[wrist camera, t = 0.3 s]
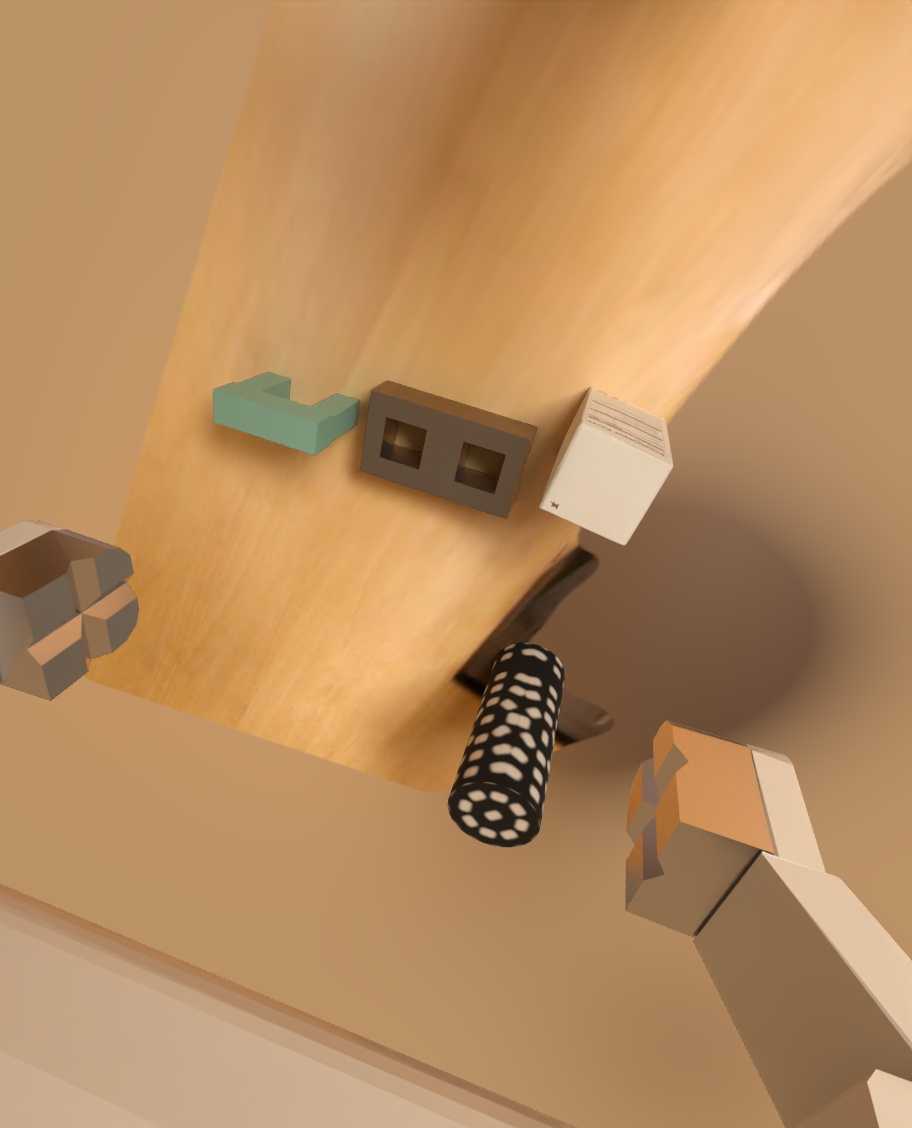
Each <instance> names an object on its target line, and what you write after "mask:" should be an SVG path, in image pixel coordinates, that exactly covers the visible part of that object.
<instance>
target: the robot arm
mask: <svg viewBox="0 0 912 1128" xmlns="http://www.w3.org/2000/svg"><path fill="white" fill-rule="evenodd" d="M133 574H134V572H133V567H132V562H131V557H130V554H128V553H127V552H125V551H124V550H122V549H121V548H119V547H116V546H113V545H110V544H107V543H104V542H101V541H98V540H95V539H93V538H90V537H87V536H84V535H81V534H78V533H75V532H72V531H69V530H66V529H65V530H64V529H61V528H59V527H56V526H53V525H50V524H47V523H44V522H41V521H23V522H20V523H18V524H16V525H13V526H11V527H9V528H7V529H5V530H3V531H0V684H1V685H4V686H7V687H10V688H13V689H16V690H19V691H22V692H25V693H28V694H32V695H34V696H37V697H40V698H44V699H47V700H50V701H51V700H52V699H54V698H55V697H56V696H58V695H59V694H60V693H61V692H63V691H64V690H65V689H67V688H68V687H69V686H70V685H72V684H73V683H74V682H76V681H77V680H78V679H79V678H81V677H82V676H83V675H85V674H86V673H87V672H88V671H89V667H90V662H91V659H93V658H97V657H100V656H103V655H107V654H110V653H112V652H114V651H115V650H116V649H117V648H118V647H120V646H121V645H122V644H123V643H124V642H126V641H127V639H128V637H129V636H130V634H131V632H132V631H133V629H134V627H135V626H136V624H137V618H138V613H139V607H138V599H137V596H136V595H135V593H134V592H133V590H132V589H131V587H130V586H129V585H128V583H127V581H128V580H129V579H130V577H131V576H132V575H133ZM653 741H654V757H653V758H651V759H649V760H647V761H645V762H642V764H641V766H640V768H639V770H638V773H637V775H636V777H635V779H634V782H633V786H632V789H631V793H630V796H629V803H628V810H627V829H626V831H627V832H628V834H629V836H630V837H631V839H632V841H633V842H634V844H635V845H634V848H633V849H632V851H631V853H630V855H629V857H628V858H627V860H626V909H625V910H626V911H628V912H631V913H633V914H636V915H638V916H640V917H643V918H645V919H648V920H651V921H653V922H656V923H658V924H661V925H663V926H666V927H668V928H671V929H673V930H676V931H678V932H681V933H684V934H686V935H688V936H691V937H694V938H695V939H694V941H693V942H694V944H695V946H696V948H697V950H698V952H699V954H700V956H701V958H702V960H703V962H704V964H705V966H706V968H707V970H708V972H709V974H710V976H711V978H712V980H713V982H714V984H715V986H716V988H717V990H718V992H719V994H720V996H721V998H722V1000H723V1002H724V1005H725V1006H726V1009H727V1011H728V1012H729V1015H730V1016H731V1019H732V1021H733V1023H734V1025H735V1027H736V1029H737V1031H738V1033H739V1035H740V1036H741V1039H742V1041H743V1043H744V1045H745V1047H746V1049H747V1051H748V1053H749V1055H750V1057H751V1059H752V1061H753V1063H754V1065H755V1067H756V1069H757V1071H758V1073H759V1075H760V1077H761V1079H762V1081H763V1083H764V1085H765V1087H766V1089H767V1091H768V1093H769V1095H770V1097H771V1099H772V1101H773V1103H774V1105H775V1107H776V1109H777V1112H778V1114H779V1115H780V1118H781V1120H782V1122H783V1124H784V1126H785V1128H912V961H911V960H910V959H909V957H908V956H907V955H906V954H905V953H904V952H903V950H902V949H901V948H900V947H899V946H898V945H897V944H896V942H895V941H894V940H893V939H892V938H891V937H890V935H889V934H888V933H887V932H886V931H885V930H884V929H883V928H882V926H881V925H880V924H879V923H878V922H877V920H876V919H875V918H874V917H873V916H872V915H871V914H870V912H869V911H868V910H867V909H866V908H865V907H864V905H863V904H862V903H861V902H860V901H859V900H858V899H857V897H856V896H855V895H854V894H853V893H852V892H851V891H850V889H849V888H848V887H847V886H846V885H845V884H844V883H843V881H842V880H841V879H840V878H838V877H835V876H833V875H830V874H827V873H826V872H825V868H824V865H823V862H822V859H821V855H820V852H819V849H818V846H817V842H816V839H815V836H814V833H813V829H812V826H811V823H810V820H809V816H808V813H807V810H806V807H805V803H804V800H803V797H802V794H801V790H800V787H799V784H798V781H797V777H796V774H795V771H794V768H793V764H792V762H791V761H790V760H789V759H788V758H787V757H786V756H785V755H782V754H778V753H775V752H772V751H768V750H765V749H761V748H758V747H755V746H751V745H748V744H744V745H743V744H741V743H738V742H735V741H732V740H728V739H725V738H722V737H719V736H715V735H712V734H709V733H706V732H703V731H699V730H696V729H693V728H690V727H686V726H683V725H679V724H677V723H673V722H670V721H666V722H665V723H664V724H663V725H662V726H661V727H660V729H659V731H658V733H657V735H656V736H655V738H654V740H653ZM0 1128H577V1127H575V1126H572V1125H570V1124H567V1123H565V1122H563V1121H560V1120H558V1119H556V1118H553V1117H551V1116H549V1115H546V1114H544V1113H541V1112H539V1111H537V1110H534V1109H532V1108H530V1107H527V1106H525V1105H523V1104H520V1103H518V1102H516V1101H513V1100H511V1099H508V1098H506V1097H504V1096H501V1095H499V1094H497V1093H494V1092H492V1091H489V1090H487V1089H485V1088H482V1087H480V1086H478V1085H475V1084H473V1083H471V1082H468V1081H466V1080H464V1079H461V1078H459V1077H456V1076H454V1075H452V1074H449V1073H447V1072H445V1071H442V1070H440V1069H437V1068H435V1067H433V1066H430V1065H428V1064H426V1063H423V1062H421V1061H419V1060H416V1059H414V1058H412V1057H409V1056H407V1055H405V1054H402V1053H400V1052H397V1051H395V1050H393V1049H390V1048H388V1047H385V1046H383V1045H381V1044H379V1043H376V1042H374V1041H371V1040H369V1039H367V1038H364V1037H362V1036H359V1035H357V1034H355V1033H353V1032H350V1031H348V1030H345V1029H343V1028H341V1027H338V1026H336V1025H334V1024H331V1023H329V1022H327V1021H324V1020H322V1019H319V1018H317V1017H315V1016H312V1015H310V1014H307V1013H305V1012H303V1011H300V1010H298V1009H296V1008H293V1007H291V1006H288V1005H286V1004H284V1003H282V1002H279V1001H277V1000H274V999H272V998H270V997H267V996H265V995H263V994H260V993H258V992H256V991H253V990H251V989H248V988H246V987H244V986H241V985H239V984H237V983H234V982H232V981H230V980H227V979H225V978H222V977H220V976H218V975H216V974H213V973H211V972H208V971H206V970H203V969H201V968H199V967H197V966H194V965H191V964H190V963H187V962H184V961H182V960H180V959H178V958H175V957H173V956H170V955H168V954H166V953H163V952H161V951H159V950H156V949H154V948H151V947H149V946H147V945H144V944H142V943H140V942H137V941H135V940H133V939H130V938H128V937H126V936H123V935H121V934H119V933H116V932H114V931H112V930H109V929H107V928H104V927H102V926H100V925H97V924H95V923H93V922H90V921H88V920H86V919H83V918H81V917H78V916H76V915H74V914H71V913H69V912H66V911H64V910H62V909H60V908H57V907H55V906H52V905H50V904H48V903H45V902H43V901H40V900H38V899H36V898H33V897H31V896H29V895H26V894H24V893H22V892H19V891H17V890H14V889H12V888H10V887H8V886H5V885H3V884H0Z"/></svg>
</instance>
